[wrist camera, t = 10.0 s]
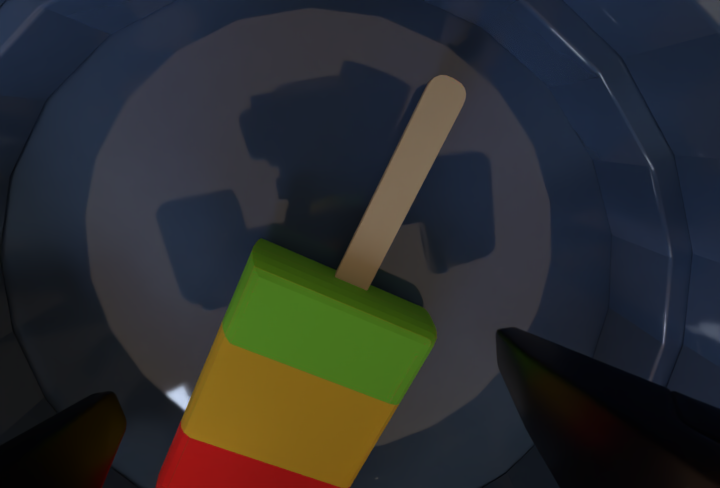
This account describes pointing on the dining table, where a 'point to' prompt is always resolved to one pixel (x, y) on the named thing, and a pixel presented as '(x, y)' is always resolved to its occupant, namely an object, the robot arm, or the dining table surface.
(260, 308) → the popsicle
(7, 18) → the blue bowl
